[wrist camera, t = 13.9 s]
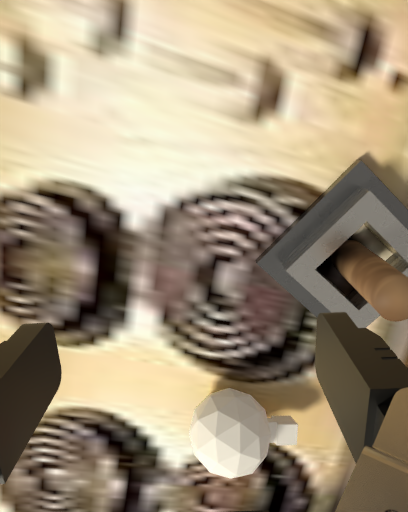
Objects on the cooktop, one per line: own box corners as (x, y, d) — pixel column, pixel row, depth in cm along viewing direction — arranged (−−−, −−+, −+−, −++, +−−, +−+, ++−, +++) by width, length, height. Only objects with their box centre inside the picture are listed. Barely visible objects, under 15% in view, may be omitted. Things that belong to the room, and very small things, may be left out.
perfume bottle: (182, 450, 46) (277, 448, 48) (191, 499, 37) (308, 494, 39) (186, 378, 46) (282, 379, 48) (196, 409, 37) (314, 409, 38)
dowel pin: (350, 232, 39) (403, 269, 29) (372, 255, 40) (432, 299, 30) (324, 257, 40) (366, 301, 30) (346, 278, 41) (395, 329, 30)
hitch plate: (357, 159, 37) (372, 162, 34) (444, 251, 40) (466, 263, 37) (255, 260, 40) (260, 271, 37) (343, 338, 43) (354, 356, 40)
